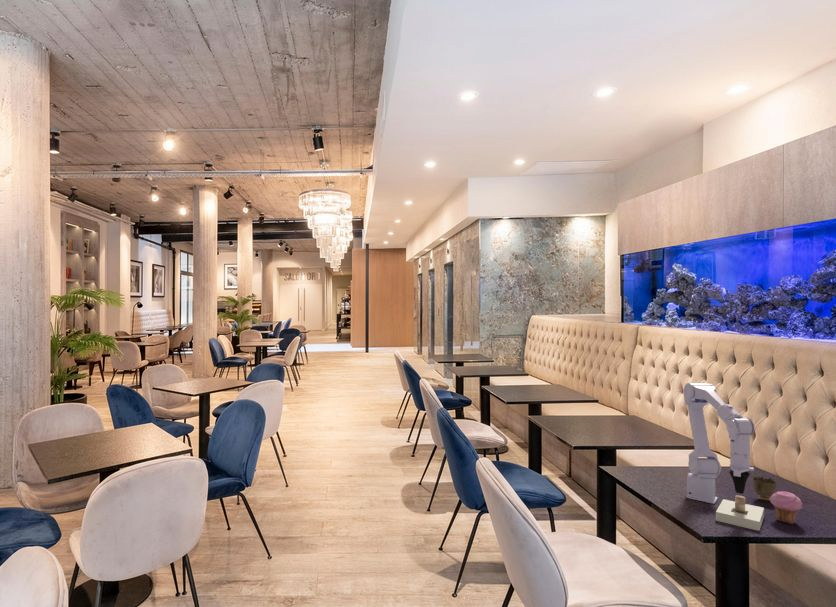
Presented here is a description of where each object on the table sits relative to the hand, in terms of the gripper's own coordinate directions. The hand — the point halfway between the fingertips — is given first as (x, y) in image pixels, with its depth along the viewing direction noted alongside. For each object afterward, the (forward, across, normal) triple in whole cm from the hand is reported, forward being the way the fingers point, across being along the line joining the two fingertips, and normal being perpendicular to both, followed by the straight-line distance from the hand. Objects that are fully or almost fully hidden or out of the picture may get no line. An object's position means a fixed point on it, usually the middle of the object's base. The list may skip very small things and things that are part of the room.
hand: (739, 492), depth 175 cm
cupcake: (+10, +10, -12) cm, 19 cm away
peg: (+9, 0, 0) cm, 9 cm away
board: (+9, +2, 0) cm, 10 cm away
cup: (+10, +30, -5) cm, 32 cm away
